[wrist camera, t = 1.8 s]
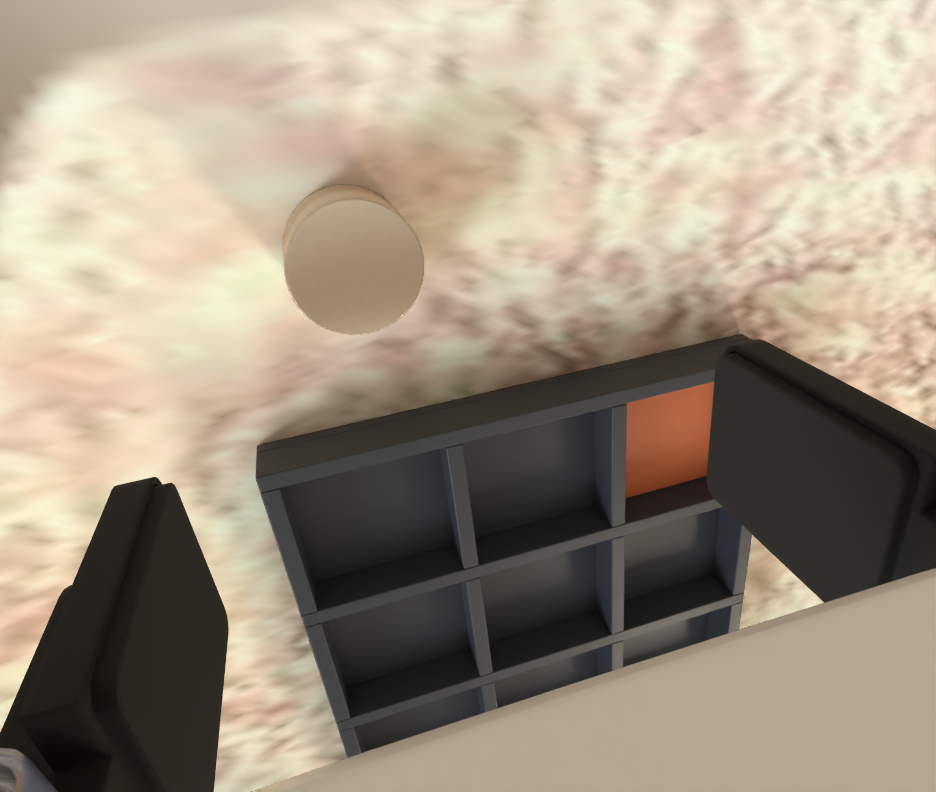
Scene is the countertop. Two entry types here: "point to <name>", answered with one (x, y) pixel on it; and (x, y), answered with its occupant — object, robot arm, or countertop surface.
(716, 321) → the countertop surface
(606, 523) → the grid
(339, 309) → the cylinder
